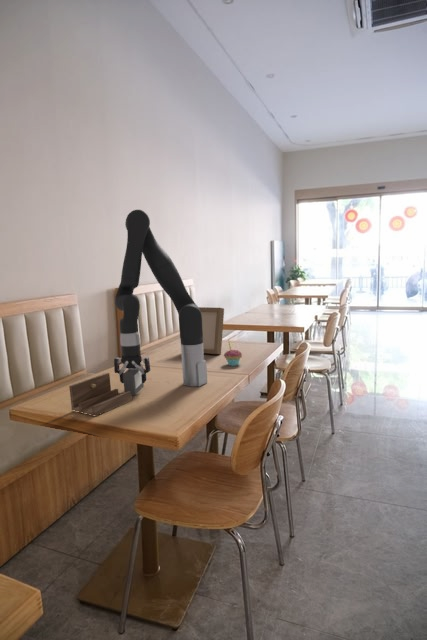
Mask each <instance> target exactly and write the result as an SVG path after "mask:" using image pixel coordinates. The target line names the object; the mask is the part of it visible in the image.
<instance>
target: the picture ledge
mask: <svg viewBox="0 0 427 640" xmlns="http://www.w3.org/2000/svg"><path fill="white" fill-rule="evenodd" d="M110 375H111V374H110V372H105V373H102V374H100V375H97V376H96V375H95V376H94V377H93V376H92V377H91V378H88V379H85V380H82V381H79V382H77V383H74V384H73V383H72V384H71V385H69V387H68V388H69V394H70V395H69V396H70V402H71V403H70V405H71V411H72V410H75V411H79V412H83V413H87V414H91V415H98V414H100V413H102V414H104V413H103V412H105V411H107V412H109V411H111V410H114V409H116V408H118V407H120V406H122V404H123V405H125V404H127V403H129V402H131V401H132V400H133V396H131V391H128V392H123V393H121V394H119V389H118V388H115V389H111V376H110ZM117 406H118V407H117ZM115 407H116V408H115ZM113 408H114V409H113ZM110 409H111V410H110ZM108 410H109V411H108ZM105 413H106V412H105ZM100 415H101V414H100ZM98 416H99V415H98Z"/></svg>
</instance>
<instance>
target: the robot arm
mask: <svg viewBox="0 0 427 640" xmlns="http://www.w3.org/2000/svg"><path fill="white" fill-rule="evenodd" d="M150 225H151V221H150V217H149V215H148V214H147V212H146V211H144V210H143V209H133V210H132V211H130V212H129V213H128V214H127V216H126V218H125V228H126V231H127V240H126V247H125V248H126V249H125V254H124V259H123V262H122V263H123V264H122V269H121V270H122V271H121V278H120V282H119V283H120V284H119V285H118V288H117V291H116V294H115V297H114V298H115V300H114V301H115V302H114V303H115V307H116V309H118V310H119V311H122V312H123V317H122V318H121V319H120V320H119V331H120V337H119V339H120V342H119V344H120V352H121V353H120V354H121V357H115V358H114V361H113V363H114V365H113V368H114V373H115V374H118V375H119V382H120V383H121V384H124V380H123V374H124V373H125V372H126V369H127V370H128V369H130V368H132V369H135V368H137V369H138V370H139V371H140V372H141V373H142V374H141V377H142V383H143V384H145V382H146V381H147V373H149V372H150V371H151V365H150V358H149V356H146V357H142V355H141V352H142V351H141V342H140V341H141V340H140V339H141V338H140V334H139V324H138V320H139V315H140V305H141V304H140V299H139V298H138V296H137V295H136V294H134V291H135V289H136V288H138V287H139V285H140V284H139V283H140V279H141V278H140V277H141V268H142V258H143V257H144V259H145V261H146V264H147V265H148V267H149V269H150V271H151V272H152V274H153V276H154V277H155V280H156V281H157V283H158V284H159V286H160V287H161V288H162V290H163V291H164V292H165V293H166V295H168V297H169V299H170V300H171V301H172V303H173V305H174V307H175V309H176V312H177V314H178V325H179V328H178V329H179V338H180V339H179V340H180V352H181V366H182V367H181V368H182V381H183V382H182V383H183V384H182V385H183V386H187V387H201V386H203V385H204V384H207V383H208V368H207V366H208V365H207V360H206V359H205V355H204V354H205V353H204V351H203V329H202V314H201V311H200V309H199V306H198V305H197V304H196V302H195V301H194V300H193V298H192V297H191V295H190V294H189V292H188V290H187V289H186V286H185V284H184V282H183V279H182V277H181V275H180V272H179V271H178V269H177V267H176V265H175V264H174V261H173V260H172V259H171V257H170V256H169V254H168V253H167V252H166V251H165V249H163V248H162V247H163V246H161V245H160V244H159V243H158V241H157V239H156V237H155V236H154V234H153V231H152V230H151V228H150ZM142 362H143V364H144V366H143V364H142ZM120 363H122V366H121V368H120Z"/></svg>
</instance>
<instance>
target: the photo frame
mask: <svg viewBox="0 0 427 640" xmlns="http://www.w3.org/2000/svg"><path fill="white" fill-rule="evenodd" d="M198 307H199V306H198ZM199 309H200V311H201V314H202V329H203V351H204V354H211V355H221V354H222V345H223V344H222V343H223V329H224V316H225V315H224V314H225V308H223V307H206V306H205V307H202V306H201V307H199Z"/></svg>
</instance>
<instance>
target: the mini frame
mask: <svg viewBox="0 0 427 640" xmlns="http://www.w3.org/2000/svg"><path fill="white" fill-rule="evenodd" d="M141 374H142V373H141V372H140V371H139V370H138V369H137V368H135V369H132V368H130V369H128V368H127V370H125V371H124V374H123V380H124V383H123V387H124V388H123V389H124V392H123V393H125V392H128V391H131V396H132V397H135V396H136V395H137V394H138V393H139V392H140V391H141V390H142V389H143V388H144V387H145V386H144V384H145V383H142V377H141Z"/></svg>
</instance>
